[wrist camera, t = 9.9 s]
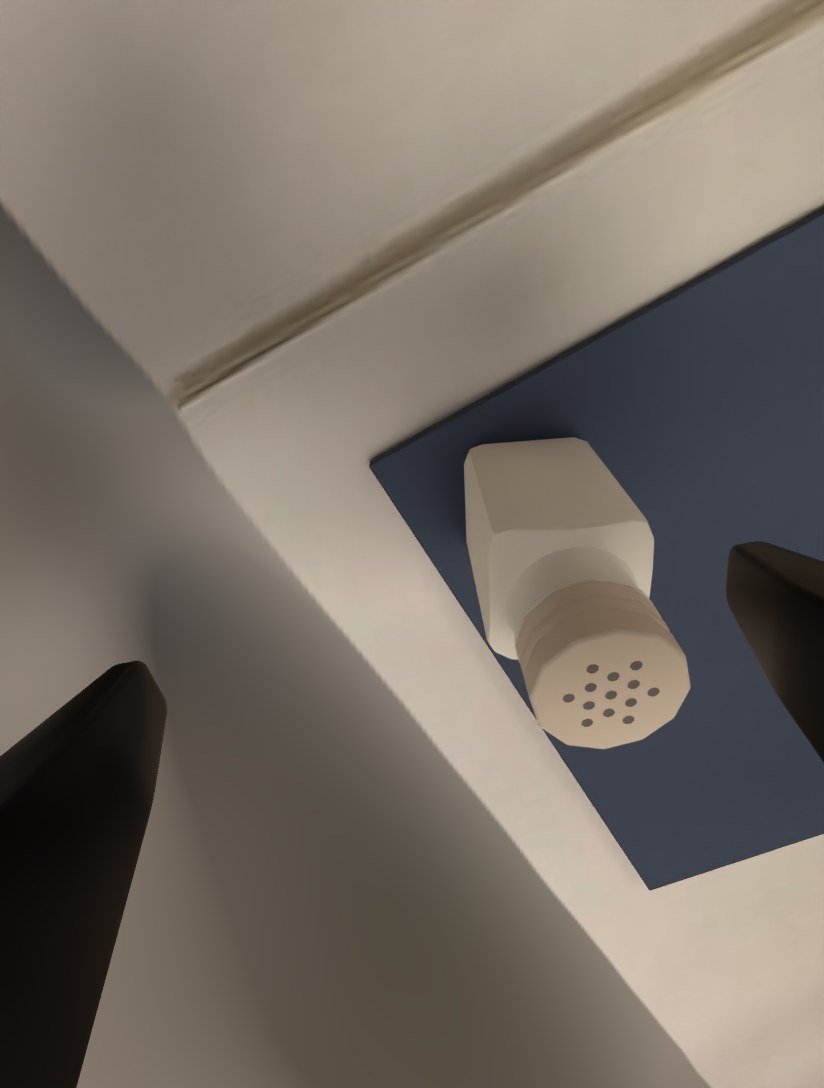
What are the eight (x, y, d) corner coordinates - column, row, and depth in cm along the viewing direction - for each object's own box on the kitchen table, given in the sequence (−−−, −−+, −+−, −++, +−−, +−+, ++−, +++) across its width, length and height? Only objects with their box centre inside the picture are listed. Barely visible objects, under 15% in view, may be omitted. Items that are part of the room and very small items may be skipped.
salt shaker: (587, 428, 19) (731, 606, 11) (579, 538, 21) (696, 757, 13) (461, 439, 19) (511, 622, 11) (465, 547, 21) (509, 770, 13)
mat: (368, 460, 20) (368, 466, 20) (950, 136, 16) (965, 134, 16) (646, 882, 33) (649, 891, 32) (1013, 759, 29) (1023, 768, 28)
